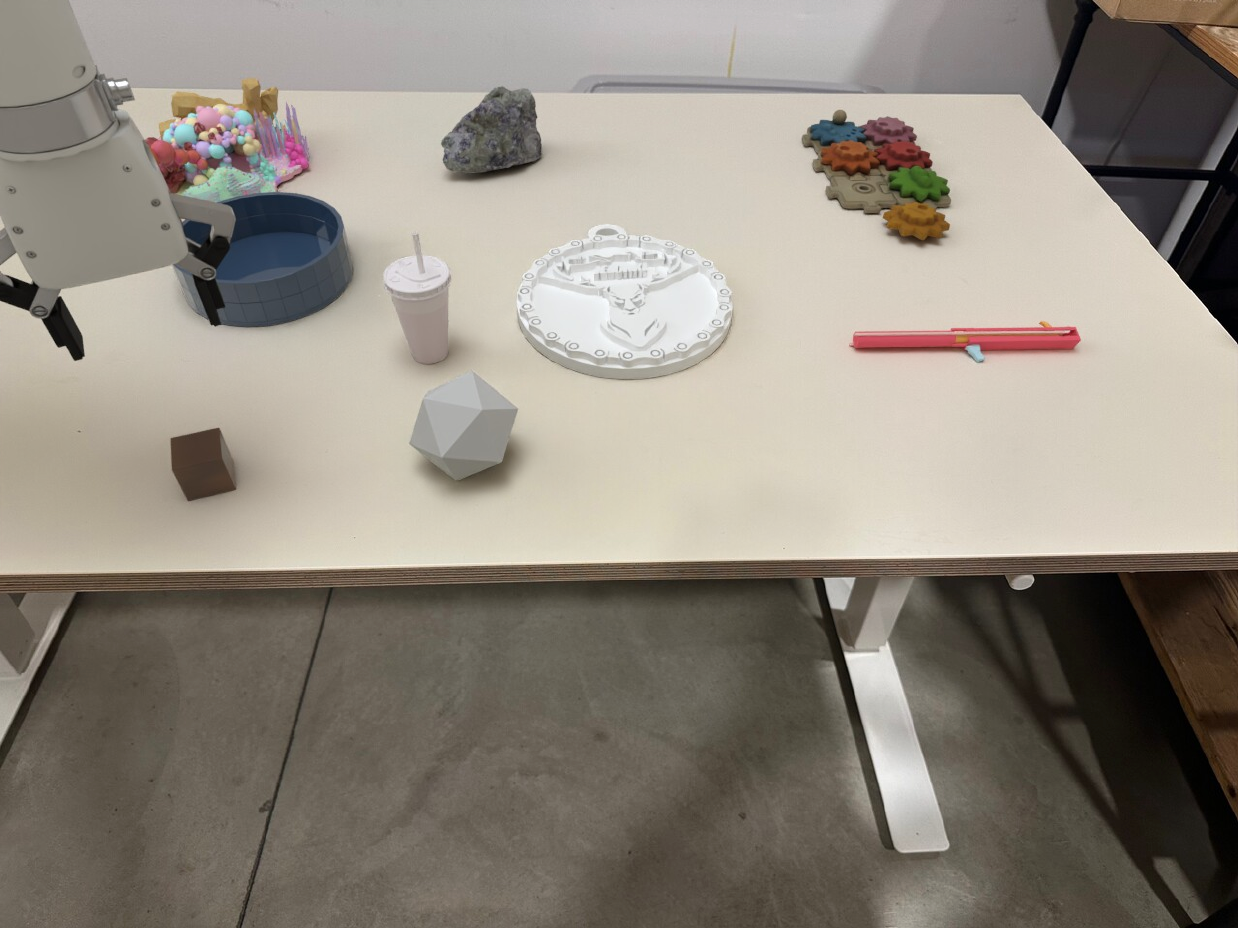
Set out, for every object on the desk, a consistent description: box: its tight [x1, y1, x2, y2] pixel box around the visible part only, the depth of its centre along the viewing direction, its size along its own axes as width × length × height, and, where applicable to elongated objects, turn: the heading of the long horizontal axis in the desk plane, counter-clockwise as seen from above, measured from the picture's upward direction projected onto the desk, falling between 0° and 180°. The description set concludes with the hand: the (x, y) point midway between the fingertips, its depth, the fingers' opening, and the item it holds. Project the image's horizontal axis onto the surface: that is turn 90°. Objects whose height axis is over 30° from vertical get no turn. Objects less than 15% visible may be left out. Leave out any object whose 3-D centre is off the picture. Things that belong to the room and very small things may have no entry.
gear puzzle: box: [801, 109, 952, 241], centre depth 114 cm, size 31×16×4 cm, turn 4°
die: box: [408, 369, 519, 482], centre depth 76 cm, size 8×9×10 cm
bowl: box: [171, 191, 354, 328], centre depth 95 cm, size 18×18×6 cm
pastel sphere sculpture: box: [145, 77, 311, 222], centre depth 110 cm, size 25×24×9 cm
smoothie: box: [382, 231, 452, 365], centre depth 84 cm, size 6×6×14 cm
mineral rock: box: [440, 85, 543, 174], centre depth 113 cm, size 13×11×10 cm
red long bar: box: [848, 320, 1082, 363], centre depth 91 cm, size 24×2×5 cm
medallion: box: [516, 223, 734, 380], centre depth 95 cm, size 24×27×2 cm
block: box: [169, 427, 237, 502], centre depth 75 cm, size 4×4×4 cm
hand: (148, 332), depth 66 cm, fingers open, 9 cm apart
